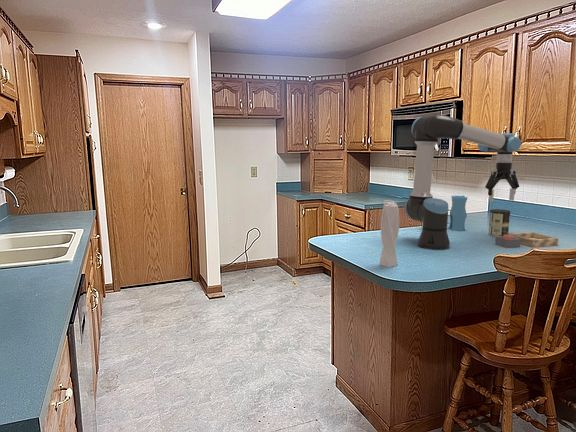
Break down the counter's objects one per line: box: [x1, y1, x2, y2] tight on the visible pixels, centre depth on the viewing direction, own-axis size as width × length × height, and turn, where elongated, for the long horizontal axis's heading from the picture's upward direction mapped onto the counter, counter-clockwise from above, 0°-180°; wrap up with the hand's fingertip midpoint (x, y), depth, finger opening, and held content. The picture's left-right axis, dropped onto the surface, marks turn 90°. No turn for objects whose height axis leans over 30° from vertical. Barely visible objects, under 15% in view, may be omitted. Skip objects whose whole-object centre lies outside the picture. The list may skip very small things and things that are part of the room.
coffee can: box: [487, 208, 511, 238], centre depth 239 cm, size 10×10×14 cm
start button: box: [503, 234, 513, 239], centre depth 215 cm, size 4×4×4 cm
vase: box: [448, 195, 469, 232], centre depth 255 cm, size 8×8×20 cm
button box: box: [494, 236, 522, 249], centre depth 216 cm, size 8×8×4 cm
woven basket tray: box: [508, 231, 559, 248], centre depth 222 cm, size 16×16×4 cm
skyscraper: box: [379, 199, 400, 268], centre depth 179 cm, size 8×8×28 cm
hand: (501, 200), depth 237 cm, fingers open, 13 cm apart
